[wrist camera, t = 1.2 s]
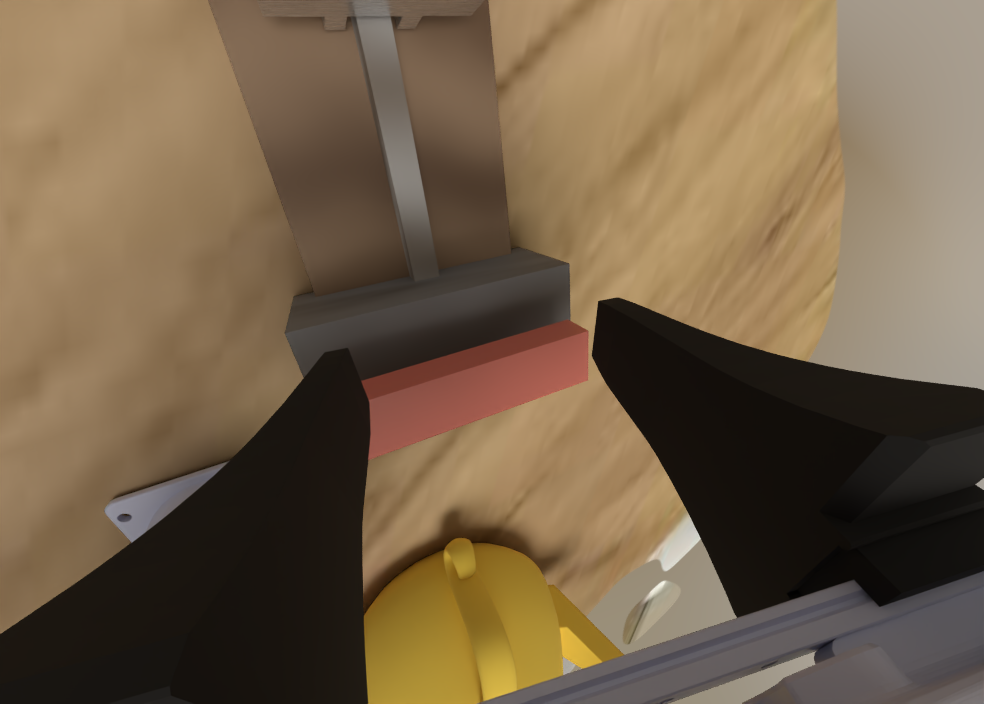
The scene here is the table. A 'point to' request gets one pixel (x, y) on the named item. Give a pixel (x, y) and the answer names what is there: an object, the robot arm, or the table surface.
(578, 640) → the teapot
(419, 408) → the bar
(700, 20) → the table surface
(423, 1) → the carriage
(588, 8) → the table surface
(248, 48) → the rail stand
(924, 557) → the robot arm
